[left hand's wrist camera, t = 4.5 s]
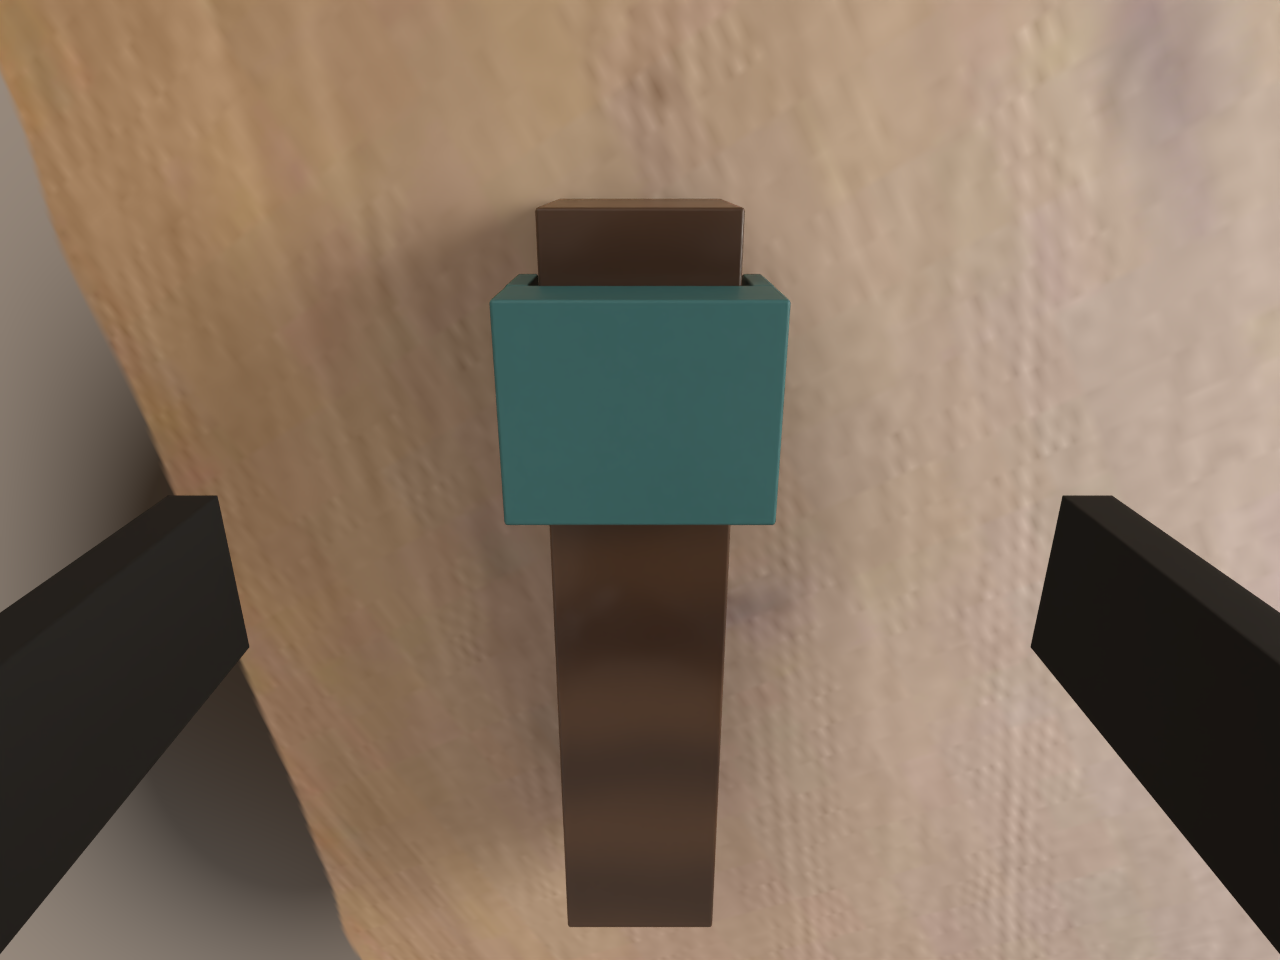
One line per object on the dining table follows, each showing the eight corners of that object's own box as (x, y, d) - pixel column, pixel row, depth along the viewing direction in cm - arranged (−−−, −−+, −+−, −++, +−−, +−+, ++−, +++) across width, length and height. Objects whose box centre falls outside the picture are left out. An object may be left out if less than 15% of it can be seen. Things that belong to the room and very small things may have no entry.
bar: (556, 198, 26) (534, 207, 21) (723, 198, 26) (745, 207, 21) (579, 809, 36) (567, 928, 30) (700, 809, 36) (712, 928, 30)
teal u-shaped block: (517, 274, 24) (488, 299, 19) (761, 274, 24) (791, 299, 19) (528, 462, 26) (504, 526, 21) (751, 461, 26) (775, 526, 21)
